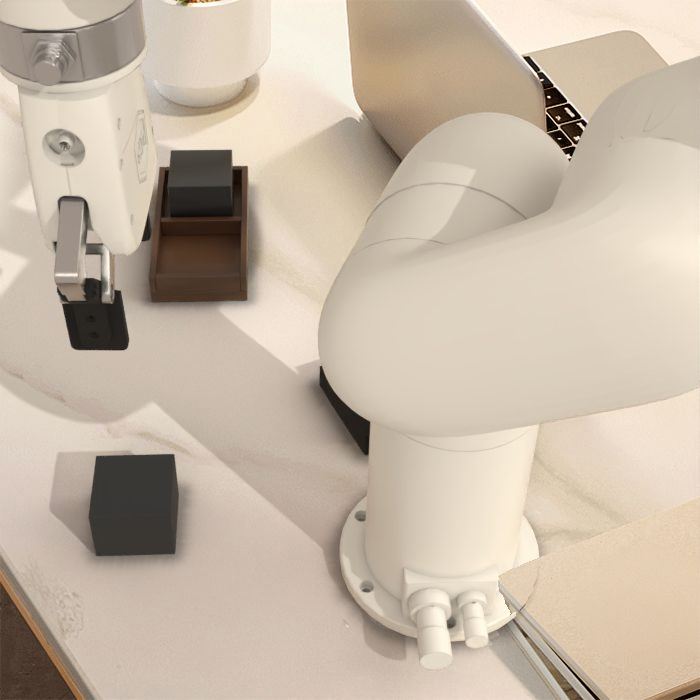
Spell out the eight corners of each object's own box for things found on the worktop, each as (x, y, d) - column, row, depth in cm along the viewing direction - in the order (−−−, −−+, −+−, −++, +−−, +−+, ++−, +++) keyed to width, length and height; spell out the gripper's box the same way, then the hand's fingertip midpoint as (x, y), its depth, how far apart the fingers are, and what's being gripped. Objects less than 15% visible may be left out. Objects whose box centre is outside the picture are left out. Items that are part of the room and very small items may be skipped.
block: (175, 554, 81) (170, 514, 78) (95, 556, 81) (88, 516, 78) (178, 493, 84) (174, 453, 82) (103, 495, 84) (95, 455, 81)
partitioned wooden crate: (247, 300, 98) (245, 250, 95) (151, 302, 98) (145, 252, 95) (248, 189, 109) (246, 140, 105) (161, 190, 108) (156, 141, 105)
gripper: (118, 125, 57) (159, 395, 68) (164, -52, 69) (193, 202, 81) (-50, 124, 57) (20, 394, 68) (27, -53, 69) (75, 201, 81)
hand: (114, 290), depth 75 cm, fingers open, 9 cm apart
